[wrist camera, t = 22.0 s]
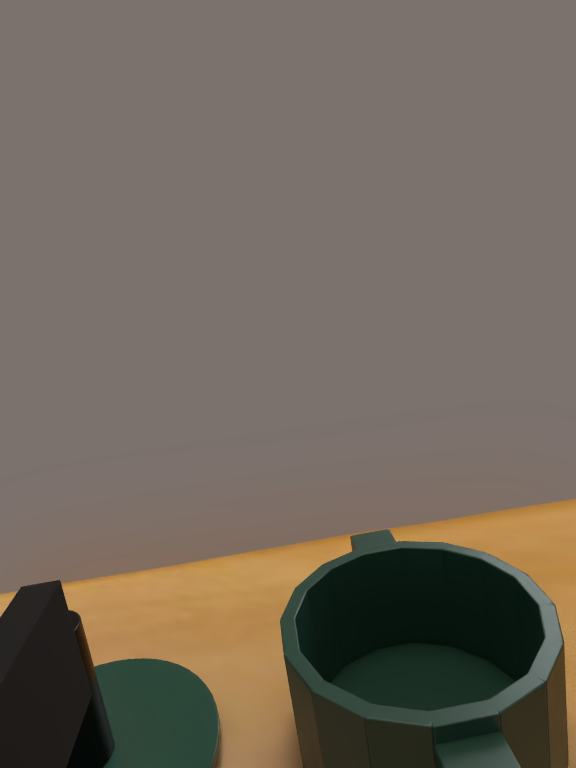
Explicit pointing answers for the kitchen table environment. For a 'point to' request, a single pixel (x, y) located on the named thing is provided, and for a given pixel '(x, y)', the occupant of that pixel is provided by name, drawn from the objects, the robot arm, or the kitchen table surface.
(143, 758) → the pot lid
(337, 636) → the pot
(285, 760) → the kitchen table surface
